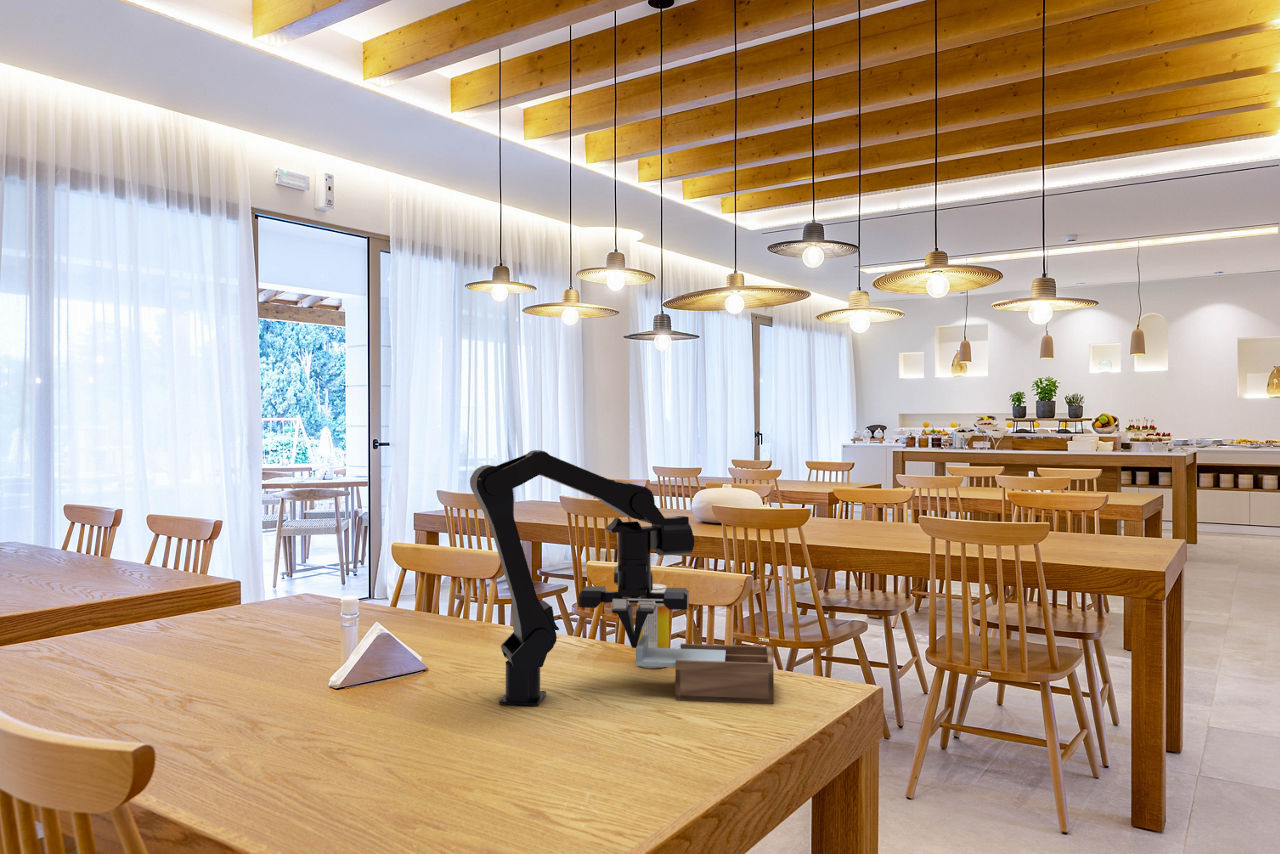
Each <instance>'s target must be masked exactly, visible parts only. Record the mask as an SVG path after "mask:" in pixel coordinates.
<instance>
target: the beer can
mask: <svg viewBox="0 0 1280 854" xmlns="http://www.w3.org/2000/svg"><path fill="white" fill-rule="evenodd" d="M666 588H668V586H667V585H666V584H661V583H653V590H652V591H651V592H658V593H664V592H665V590H666ZM639 598H640V597H639ZM639 606H640V605H638V603H636V610H637V609H638V607H639ZM642 635H648V648H670V609H668V608H667V607H666V606H665V605H664V604H663V603H656V609H655V611H654V613H653V614H648V615H647V618H646V620H645V622H644V625H643V628H642V631H641V635H640V638H639V641H640V639H641V637H642ZM639 641H638V643H639ZM640 667H641V668H644V669H654V670H655V669H662V668H664V667H658V666H640Z"/></svg>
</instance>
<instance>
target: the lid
mask: <svg viewBox="0 0 1280 854" xmlns="http://www.w3.org/2000/svg"><path fill="white" fill-rule="evenodd" d="M725 657H726V650H707V649H681V648H676V647H675V648H672V647H671V648H670V647H669V648H648V635H642V637H641V639H640V641H639V643H638V645H637V647H636V648H635V667H636V666H637V667H641V666H658V667H663V668H665V667H666V668H675V661H676V660H694V661H724V662H725Z"/></svg>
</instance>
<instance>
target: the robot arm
mask: <svg viewBox="0 0 1280 854" xmlns="http://www.w3.org/2000/svg"><path fill="white" fill-rule="evenodd" d="M538 476H541V477H544V478H545V479H549V480H551V481H553V482H556V483H558V484H561V485H564V486H566V487H568V488H571V489H573V490H576V491H579V492H581V493H583V494H586V495H589V496H591V497H593V498H595V499H597V500H598V501H600V502H601V503H603V504H604V505H605V506H606V507H608V508H610V509H611V510H613V511H614V512H616V513H617V514H619V515H621V516H623V517H627V518H630V519H633V521H623V520H622V519H621V518H618V517H614V518H613V520H612V521H611V522H610V523H609V524H608V525H607V526H606V527H605V530H606V532H610V533H612V534H613V533H614V534H615V533H616V534H617V565H615V566H614V570H613V571H614V573H613V583H614V584H615V586H617V591H607V588H606V586H605V585H603V586H600V585H599V586H598V585H595V586H594V585H587V586H585V587H584V588H583V589H582V590H581V591H580V592H579V593H578V607H579V608H586V609H588V608H590V609H591V608H593V609H596V608H597V607H599V606H600V604H601V603H612V609H611V613H612V614H616V615H617V616H618V618H619V620H620V622H621V624H622V626H623V628H624V630H625V633H626V635H627V638H628V641H629V644H630V646H631V648H632V649H636V647H637V645H638V641H639V638H640V635H641V631H642V628H643V625H644V622H645V620H646V618H647V615H648V614H653V613H654V611H655V609H656V603H663V604H664V605H665V606H666V607H667V608H668V609H669V610H676V611H677V610H681V611H682V610H683V611H684V610H688V607H689V603H690V592H689V590H688V588H687V587H667V588H666V590H665V592H664V593H658V592H651V591H652V590H653V584H654V576H653V572H652V570H651V567H652V566H651V564H652V562H651V561H652V559H651V558H652V556H651V555H652V553H651V550H652V551H655V553H656V555H657V556H658V557H664V556H679V555H690V554H691V553H693V551H694V548H695V535H694V533H693V529H692V526H691V524H690V521H689V517H688V516H686V515H677V516H673V517H672V516H671V517H669V516H668V517H665V516H664V515H663V514H662V512H661V511H660V509H659V508H658V506H657V505H656V502H655V501H656V500H655V496H654V494H653V492H652V490H651V489H650V488H648V487H646V486H642V485H638V484H635V483H634V484H633V483H629V482H624V481H619V480H614V479H609V478H606V477H605V476H601V475H599V474H597V473H594V472H592V471H589V470H587V469H584V468H582V467H579V466H577V465H575V464H572V463H570V462H567V461H565V460H563V459H560V458H558V457H555V456H554V455H553V456H552V455H551V454H550V453H548V452H547V451H544V450H537V449H534V450H531V451H529V452H527V453H526V454H523V455H521V456H519V457H515V458H513V459H510V460H508V461H505V462H502V463H500V464H497V465H496V466H495V465H490V464H486V465H481V466H479V467H477V468H476V469H475V470H474V471H473V472H472V475H471V476H470V478H469V486H470V489H471V491H472V493H473V495H474V497H475V499H476V502H477V503H478V506H479V507H480V509H481V510H482V512H483V514H484V516H485V518H486V519H487V521H488V522H489V526H490V530H491V533H492V536H493V540H494V543H495V546H496V550H497V553H498V557H499V560H500V563H501V568H502V570H503V573H504V577H505V580H506V581H505V582H506V584H507V587H508V591H509V594H510V597H511V598H510V599H511V602H512V603H511V604H512V605H511V607H512V608H511V610H512V611H511V612H512V613H511V615H512V616H511V617H512V618H511V619H512V628H513V632H512V633H511V634H510V635H509V636H508V637H507V638H506V639H505V641H503V643H502V644H501V645H500V648H501V651H502V654H503V655H502V656H504V658H505V659H506V661H505V693H504V695H503V696H502V697H501V698H500V699H499V700H498V704H500V705H513V706H519V705H520V706H538V705H539V704H540V703H541V702H542V701H543V699H544V698H545V696H546V695H547V691H546V690H541V668H543V666H544V664H545V661H546V658H547V655H548V654H549V653H550V652H551V651H552V650H553V648H554V646H555V644H556V643H557V639H558V638H557V632H556V631H559V630H560V628H559V627H558V625H557V624H556V621H555V616H554V610H553V605H551V604H550V603H548V602H546V601H545V600H544V599H542V600H539V598H538V596H537V593H536V590H535V585H534V582H533V579H532V575H531V572H530V569H529V565H528V562H527V558H526V555H525V551H524V548H523V544H522V541H521V537H520V534H519V531H518V526H517V523H516V520H515V514H514V512H515V510H514V509H515V506H514V505H515V497H514V489H516V488H517V487H520V486H522V485H524V484H525V483H527V482H529V481H531V480H533V479H534V478H536V477H538ZM634 520H638V521H639V522H638V521H634ZM640 522H643V523H647V524H651V525H648V526H642V525H641V523H640ZM639 597H640V598H639ZM637 603H638V605H640V606H639V607H638V609H637V608H636V610H635V611H636V612H635V620H634V615H633V604H637ZM634 621H635V622H634Z"/></svg>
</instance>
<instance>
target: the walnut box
mask: <svg viewBox="0 0 1280 854" xmlns="http://www.w3.org/2000/svg"><path fill="white" fill-rule="evenodd" d="M680 649H707V650H726V657H725V662H724V661H694V660H676V661H675V667H674V669H675V674H674V675H675V680H674V681H675V689H674V690H675V691H674V692H675V693H674V694H675V701H688V702H690V701H691V702H692V701H693V702H713V703H714V702H715V703H716V702H717V703H719V702H720V703H736V704H737V703H741V704H766V705H767V704H768V705H774V699H775V698H774V695H775V693H774V691H775V690H774V689H775V688H774V685H775V684H774V681H775V680H774V676H775V675H774V673H775V672H774V670H775V668H774V664H775V663H774V658H773V651H772V646H767V645H735V644H710V643H709V644H707V643H706V644H705V643H680Z"/></svg>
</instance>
